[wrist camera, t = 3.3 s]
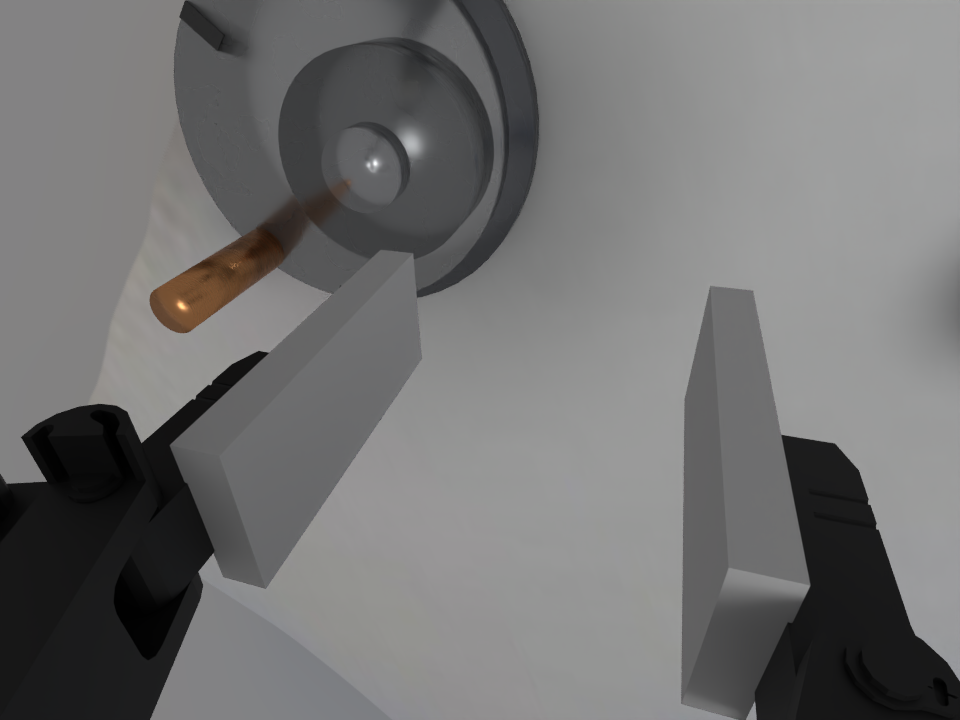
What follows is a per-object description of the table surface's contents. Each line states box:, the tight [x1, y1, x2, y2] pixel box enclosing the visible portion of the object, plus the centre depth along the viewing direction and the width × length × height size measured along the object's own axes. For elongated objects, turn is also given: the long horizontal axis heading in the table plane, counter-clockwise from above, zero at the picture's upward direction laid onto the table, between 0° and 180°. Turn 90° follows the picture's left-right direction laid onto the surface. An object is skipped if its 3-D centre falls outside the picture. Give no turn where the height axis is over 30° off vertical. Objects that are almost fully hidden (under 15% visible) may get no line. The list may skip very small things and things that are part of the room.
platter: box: [150, 0, 509, 333], centre depth 25 cm, size 16×17×8 cm
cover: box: [278, 37, 494, 259], centre depth 24 cm, size 8×8×4 cm
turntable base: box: [416, 0, 539, 298], centre depth 29 cm, size 18×18×1 cm
